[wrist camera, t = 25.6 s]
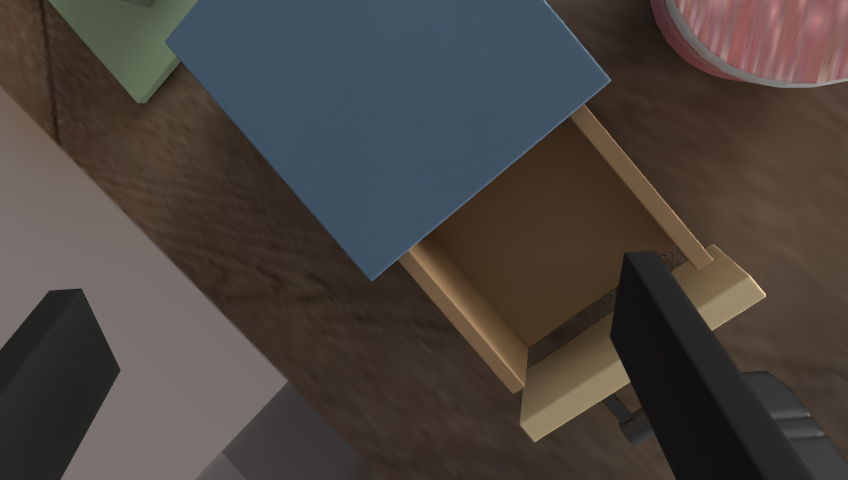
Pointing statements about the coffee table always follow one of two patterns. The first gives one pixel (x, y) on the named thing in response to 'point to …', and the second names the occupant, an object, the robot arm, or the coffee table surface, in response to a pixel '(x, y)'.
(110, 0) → the mat
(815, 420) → the robot arm
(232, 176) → the coffee table surface
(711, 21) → the container
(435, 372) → the coffee table surface
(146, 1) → the silver box
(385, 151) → the cabinet
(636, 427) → the drawer
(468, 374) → the coffee table surface
